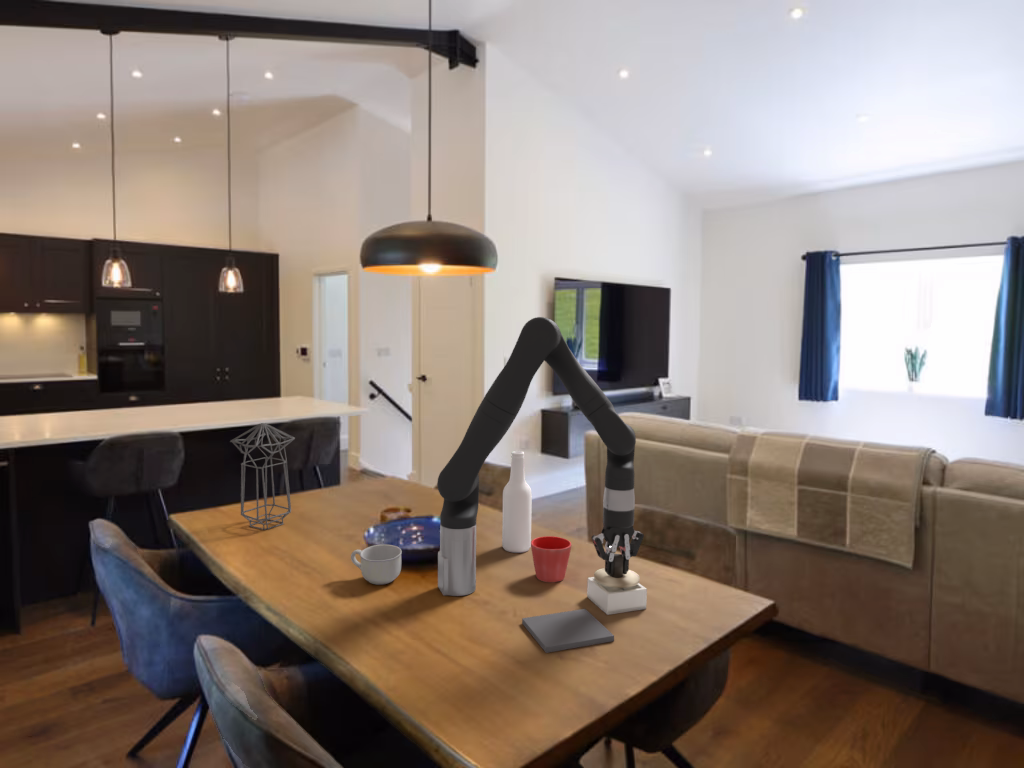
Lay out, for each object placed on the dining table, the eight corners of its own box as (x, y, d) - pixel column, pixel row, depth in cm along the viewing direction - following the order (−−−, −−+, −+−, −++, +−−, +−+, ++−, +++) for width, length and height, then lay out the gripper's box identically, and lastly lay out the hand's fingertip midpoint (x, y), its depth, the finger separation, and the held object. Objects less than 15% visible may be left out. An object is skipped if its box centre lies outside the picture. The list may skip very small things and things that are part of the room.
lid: (607, 590, 149) (608, 566, 149) (586, 573, 160) (586, 550, 159) (648, 584, 153) (648, 561, 153) (624, 568, 163) (625, 546, 163)
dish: (607, 614, 150) (607, 594, 150) (587, 596, 160) (587, 577, 160) (646, 608, 154) (646, 588, 153) (624, 591, 164) (624, 572, 163)
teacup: (409, 577, 172) (409, 548, 171) (385, 591, 162) (385, 561, 161) (367, 568, 177) (367, 540, 177) (342, 581, 168) (341, 552, 167)
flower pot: (568, 586, 166) (569, 550, 166) (527, 582, 169) (527, 547, 168) (572, 571, 177) (573, 537, 176) (533, 568, 179) (534, 534, 178)
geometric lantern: (300, 523, 216) (297, 422, 212) (260, 537, 203) (256, 429, 199) (270, 515, 225) (267, 417, 221) (230, 527, 211) (226, 424, 207)
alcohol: (531, 544, 199) (533, 449, 196) (529, 554, 190) (531, 455, 187) (503, 542, 200) (505, 448, 197) (500, 552, 191) (501, 454, 188)
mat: (546, 652, 132) (546, 647, 132) (522, 623, 145) (522, 618, 145) (614, 641, 138) (614, 635, 138) (585, 613, 151) (585, 608, 151)
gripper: (600, 512, 149) (598, 583, 150) (652, 507, 154) (649, 576, 155) (585, 503, 156) (584, 571, 158) (636, 499, 161) (633, 565, 162)
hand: (616, 573), depth 156 cm, fingers open, 3 cm apart
